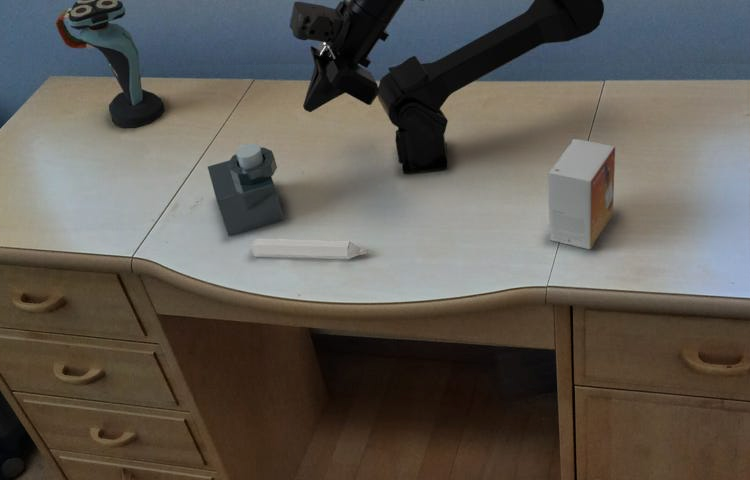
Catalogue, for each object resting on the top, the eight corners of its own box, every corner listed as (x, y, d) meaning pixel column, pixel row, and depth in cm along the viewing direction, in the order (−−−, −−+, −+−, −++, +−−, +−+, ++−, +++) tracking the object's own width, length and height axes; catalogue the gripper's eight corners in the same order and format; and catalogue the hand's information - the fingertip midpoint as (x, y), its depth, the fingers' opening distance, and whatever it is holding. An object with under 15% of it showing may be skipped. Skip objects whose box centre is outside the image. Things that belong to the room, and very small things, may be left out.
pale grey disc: (261, 152, 128) (257, 140, 127) (265, 165, 126) (262, 152, 124) (237, 159, 128) (233, 147, 127) (241, 172, 125) (237, 159, 124)
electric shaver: (159, 124, 153) (118, 11, 140) (91, 133, 155) (44, 21, 141) (169, 96, 160) (130, -15, 146) (104, 104, 161) (59, -5, 148)
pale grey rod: (372, 262, 121) (257, 258, 125) (374, 247, 121) (259, 243, 125) (367, 255, 118) (250, 251, 122) (369, 240, 119) (252, 236, 123)
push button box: (279, 184, 136) (267, 137, 130) (292, 218, 129) (279, 170, 124) (219, 201, 135) (203, 155, 129) (228, 236, 128) (213, 190, 123)
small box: (590, 251, 115) (590, 182, 108) (548, 240, 118) (546, 172, 110) (614, 214, 120) (616, 145, 112) (573, 204, 122) (573, 137, 115)
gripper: (304, -47, 120) (244, 53, 127) (334, 7, 107) (265, 116, 113) (372, -5, 126) (312, 89, 133) (409, 51, 112) (340, 153, 119)
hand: (306, 109), depth 124 cm, fingers closed
